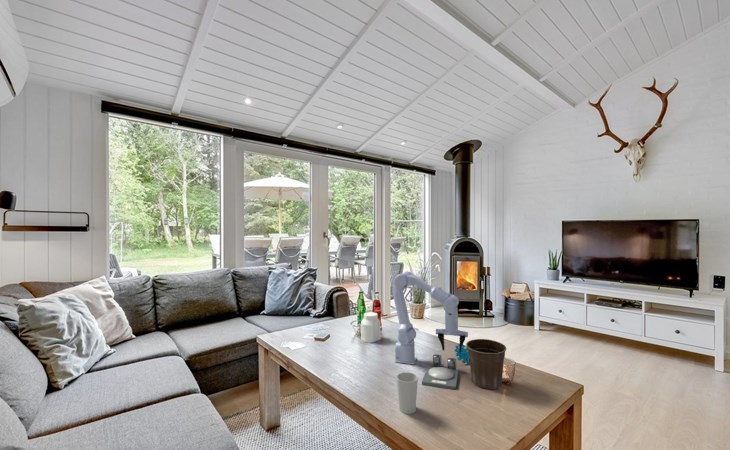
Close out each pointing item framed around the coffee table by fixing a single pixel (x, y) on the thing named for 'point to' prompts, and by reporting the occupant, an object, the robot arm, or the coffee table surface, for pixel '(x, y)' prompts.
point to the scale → (440, 377)
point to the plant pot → (486, 362)
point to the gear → (462, 353)
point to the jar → (370, 328)
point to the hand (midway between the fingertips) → (451, 350)
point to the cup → (407, 392)
